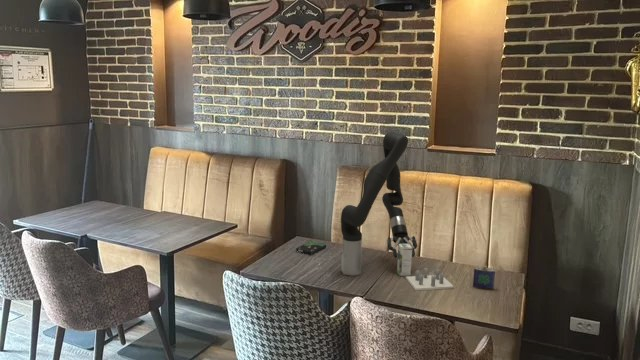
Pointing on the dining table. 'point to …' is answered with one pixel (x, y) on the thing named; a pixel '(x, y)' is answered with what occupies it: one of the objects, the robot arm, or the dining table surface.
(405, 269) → the syrup box
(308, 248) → the disk drive
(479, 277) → the flask
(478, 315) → the dining table surface
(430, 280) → the dock
